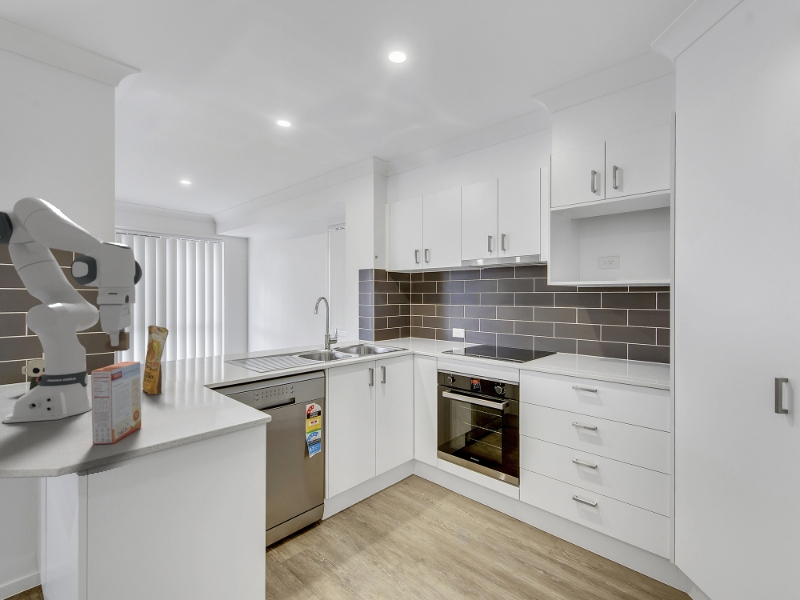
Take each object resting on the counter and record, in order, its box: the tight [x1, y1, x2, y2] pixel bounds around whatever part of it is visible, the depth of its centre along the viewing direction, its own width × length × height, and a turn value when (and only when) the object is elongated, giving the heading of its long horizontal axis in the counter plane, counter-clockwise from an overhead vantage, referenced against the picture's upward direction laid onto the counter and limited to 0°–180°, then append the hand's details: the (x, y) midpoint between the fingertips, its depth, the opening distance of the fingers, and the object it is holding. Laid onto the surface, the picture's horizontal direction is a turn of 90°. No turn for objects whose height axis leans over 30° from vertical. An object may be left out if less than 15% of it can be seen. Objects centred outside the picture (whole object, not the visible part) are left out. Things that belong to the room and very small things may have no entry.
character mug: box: [21, 359, 45, 391], centre depth 166 cm, size 11×7×13 cm, turn 143°
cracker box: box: [90, 361, 142, 445], centre depth 114 cm, size 14×6×21 cm, turn 5°
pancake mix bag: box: [142, 325, 169, 396], centre depth 167 cm, size 7×19×28 cm, turn 46°
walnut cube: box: [104, 331, 131, 353], centre depth 114 cm, size 5×5×5 cm
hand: (117, 344), depth 114 cm, fingers closed on walnut cube, 5 cm apart
